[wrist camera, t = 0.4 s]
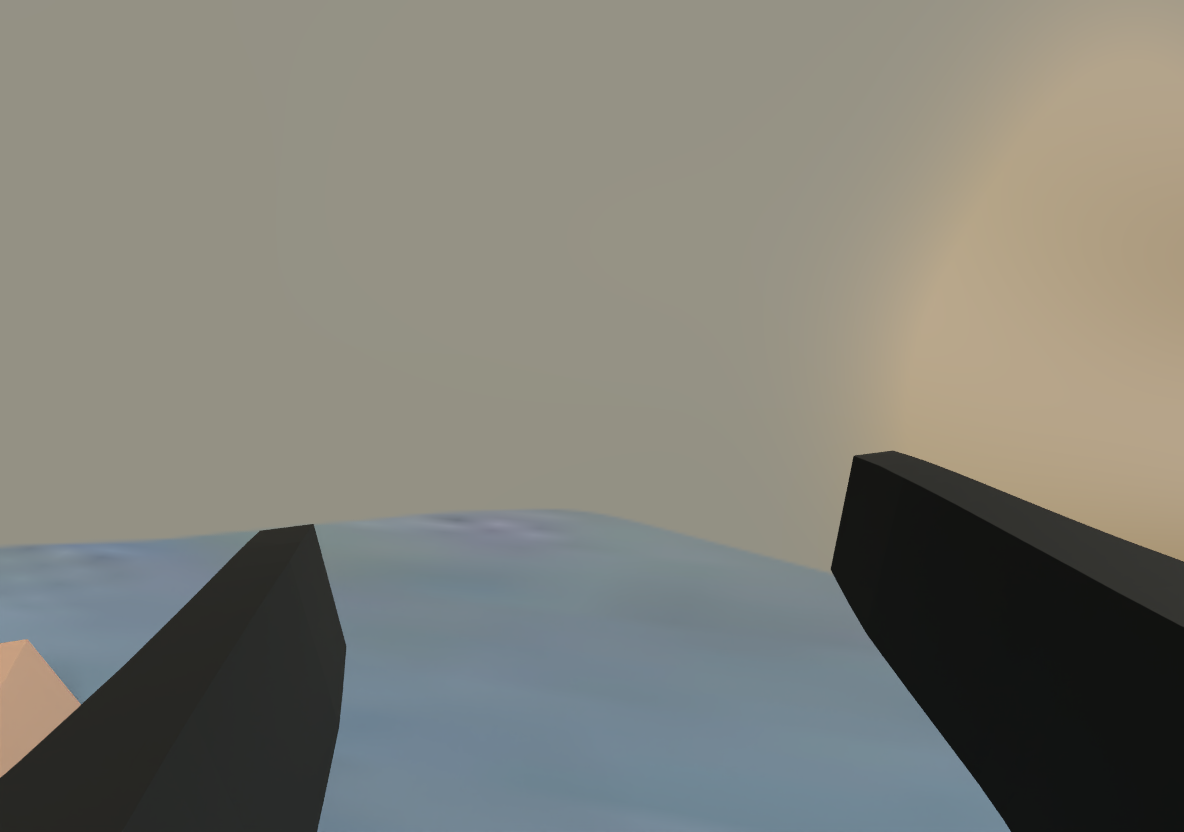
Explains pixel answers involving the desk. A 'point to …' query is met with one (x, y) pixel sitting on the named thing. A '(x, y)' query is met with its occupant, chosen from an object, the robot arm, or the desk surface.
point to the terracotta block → (28, 701)
